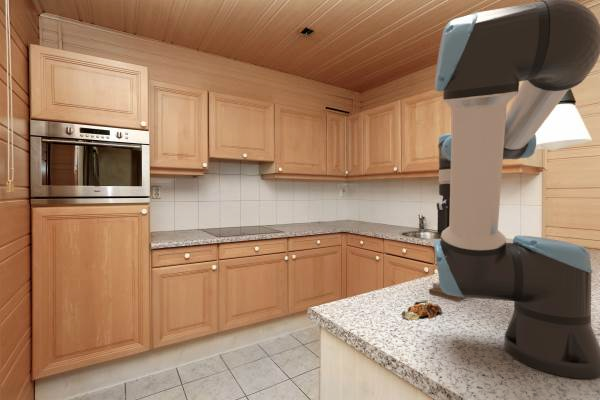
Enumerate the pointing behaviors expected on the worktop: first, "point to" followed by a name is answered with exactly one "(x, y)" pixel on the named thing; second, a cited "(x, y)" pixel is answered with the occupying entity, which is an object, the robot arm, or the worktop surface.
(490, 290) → the robot arm
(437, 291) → the socket board
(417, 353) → the worktop surface
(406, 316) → the brown lumpy food piece
